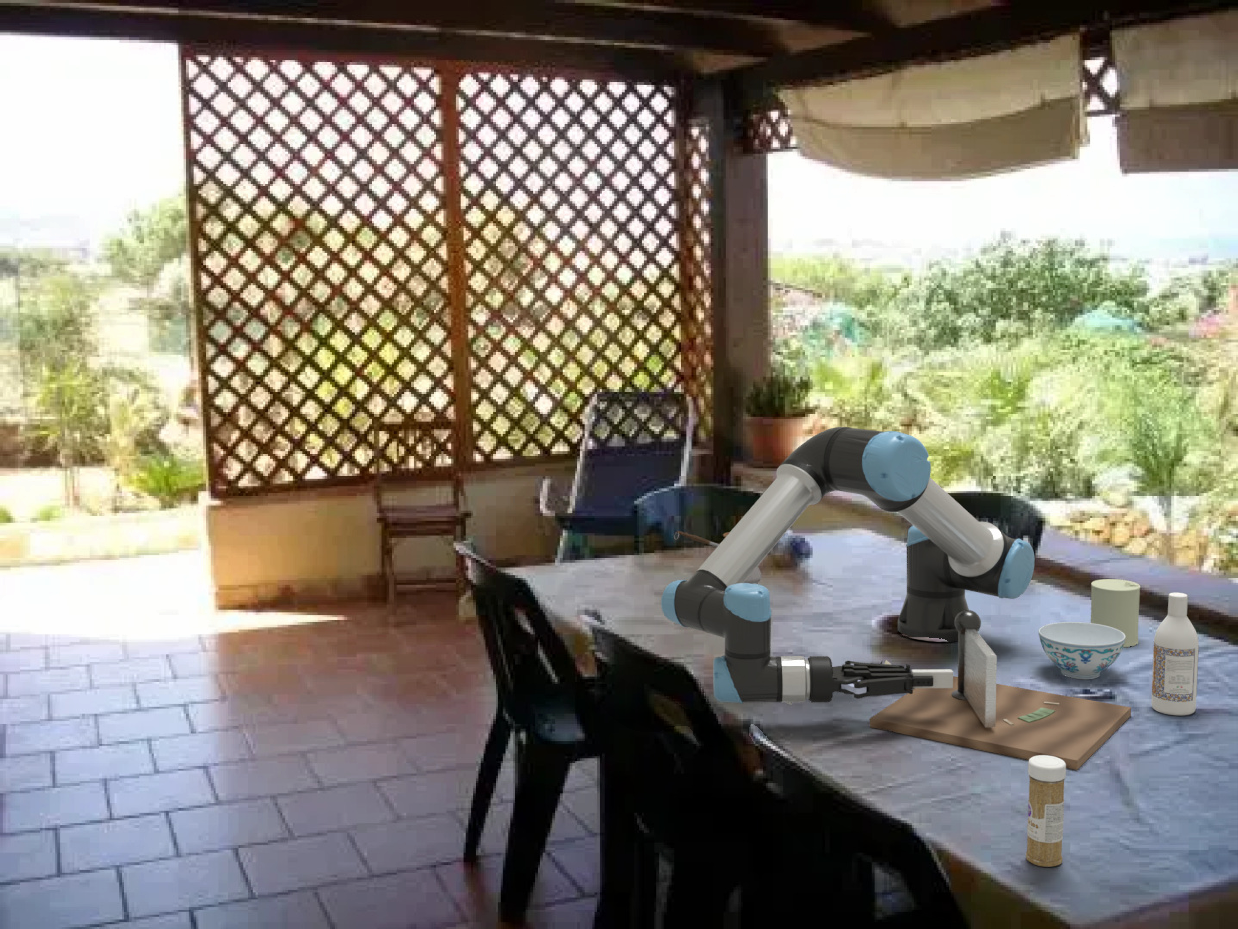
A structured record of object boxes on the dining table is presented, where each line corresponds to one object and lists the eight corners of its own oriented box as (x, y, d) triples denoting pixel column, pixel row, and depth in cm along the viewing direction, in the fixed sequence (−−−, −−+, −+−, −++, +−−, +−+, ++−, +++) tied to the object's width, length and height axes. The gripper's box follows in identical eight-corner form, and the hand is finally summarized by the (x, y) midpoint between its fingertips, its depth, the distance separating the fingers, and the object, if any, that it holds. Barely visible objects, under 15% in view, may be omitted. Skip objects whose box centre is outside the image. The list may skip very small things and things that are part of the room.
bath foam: (1159, 700, 227) (1163, 587, 224) (1201, 708, 223) (1206, 593, 220) (1145, 711, 222) (1149, 595, 219) (1188, 719, 218) (1193, 602, 215)
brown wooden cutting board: (869, 727, 218) (869, 716, 218) (938, 681, 240) (938, 671, 240) (1077, 770, 198) (1077, 758, 198) (1130, 716, 220) (1131, 705, 220)
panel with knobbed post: (951, 687, 230) (952, 607, 227) (976, 687, 229) (978, 606, 227) (976, 727, 210) (977, 640, 208) (1004, 727, 210) (1006, 639, 208)
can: (1142, 648, 257) (1144, 588, 255) (1092, 647, 259) (1094, 587, 257) (1134, 635, 266) (1136, 577, 264) (1086, 633, 267) (1087, 576, 266)
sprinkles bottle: (1019, 854, 171) (1021, 755, 169) (1052, 851, 172) (1054, 752, 169) (1036, 870, 166) (1039, 769, 164) (1070, 866, 167) (1073, 765, 165)
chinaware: (1068, 690, 233) (1070, 648, 232) (1021, 666, 248) (1022, 626, 247) (1141, 681, 237) (1143, 640, 236) (1091, 658, 252) (1092, 618, 250)
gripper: (803, 688, 224) (943, 688, 223) (811, 714, 211) (960, 714, 210) (803, 646, 223) (944, 645, 222) (811, 669, 210) (961, 668, 209)
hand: (951, 678), depth 216 cm, fingers closed
